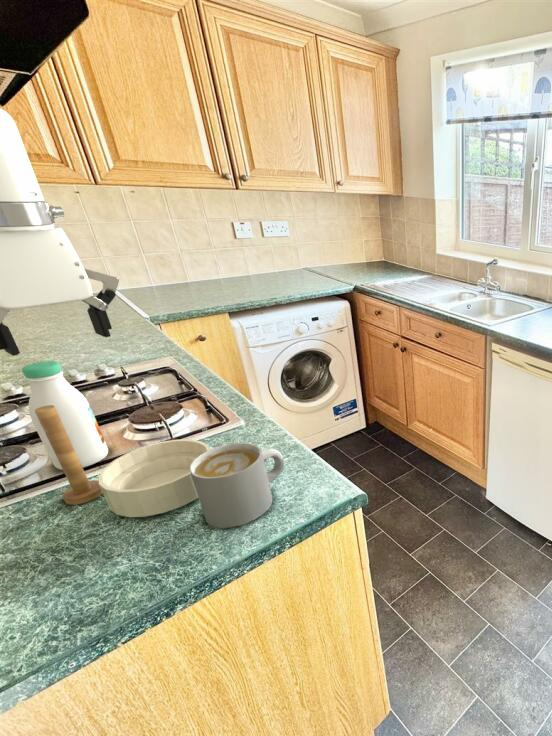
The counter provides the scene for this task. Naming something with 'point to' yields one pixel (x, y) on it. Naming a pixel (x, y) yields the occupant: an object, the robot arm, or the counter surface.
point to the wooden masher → (67, 458)
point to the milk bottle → (64, 412)
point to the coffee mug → (234, 483)
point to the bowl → (151, 478)
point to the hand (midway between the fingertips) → (61, 343)
